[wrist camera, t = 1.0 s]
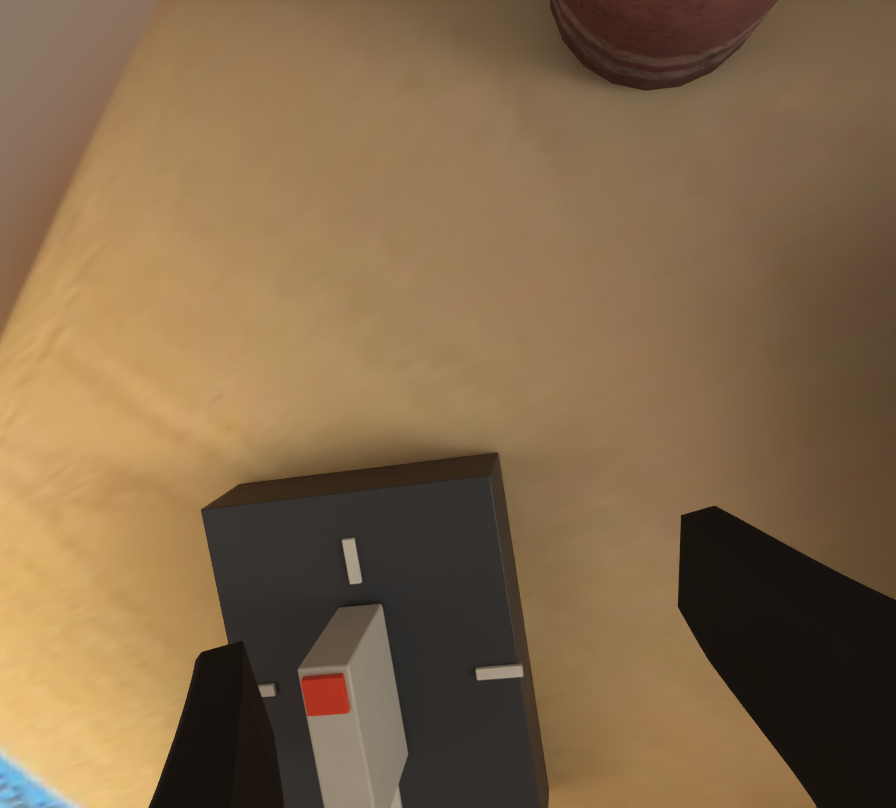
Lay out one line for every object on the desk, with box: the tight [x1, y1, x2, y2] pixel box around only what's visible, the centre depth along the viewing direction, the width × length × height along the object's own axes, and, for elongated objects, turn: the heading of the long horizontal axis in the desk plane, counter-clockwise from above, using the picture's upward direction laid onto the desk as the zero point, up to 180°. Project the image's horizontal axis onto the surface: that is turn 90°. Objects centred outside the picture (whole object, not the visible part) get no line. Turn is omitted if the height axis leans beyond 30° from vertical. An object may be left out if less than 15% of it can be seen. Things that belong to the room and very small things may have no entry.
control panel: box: [201, 453, 549, 808], centre depth 27 cm, size 12×9×3 cm
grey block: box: [298, 604, 408, 808], centre depth 23 cm, size 5×1×4 cm, turn 9°
